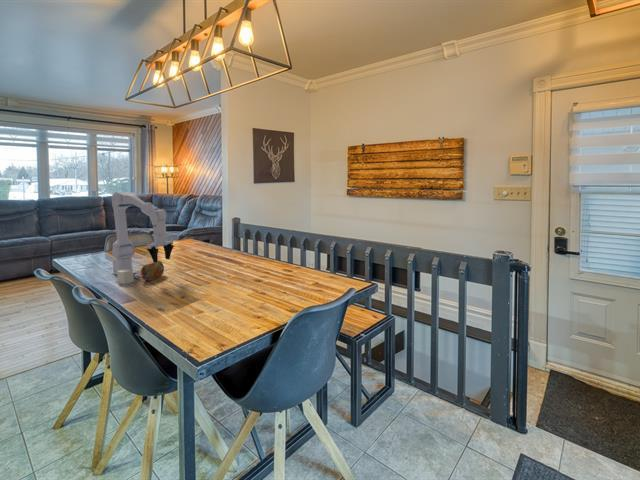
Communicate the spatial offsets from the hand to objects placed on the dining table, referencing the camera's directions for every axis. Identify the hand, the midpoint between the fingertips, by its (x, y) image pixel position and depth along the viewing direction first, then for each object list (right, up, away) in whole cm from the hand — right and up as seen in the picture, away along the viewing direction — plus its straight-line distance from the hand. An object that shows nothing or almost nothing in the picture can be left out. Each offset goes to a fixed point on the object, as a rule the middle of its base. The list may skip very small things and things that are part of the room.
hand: (161, 260), depth 180 cm
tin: (-6, -10, +5) cm, 13 cm away
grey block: (-16, -11, -3) cm, 20 cm away
